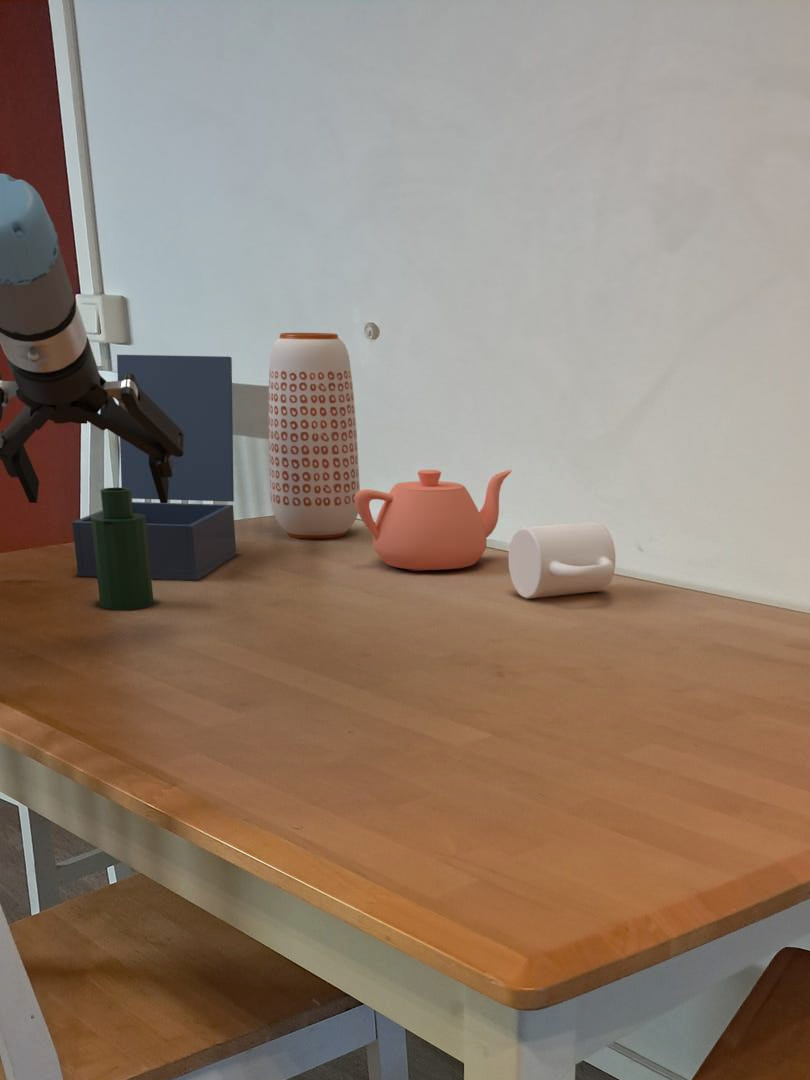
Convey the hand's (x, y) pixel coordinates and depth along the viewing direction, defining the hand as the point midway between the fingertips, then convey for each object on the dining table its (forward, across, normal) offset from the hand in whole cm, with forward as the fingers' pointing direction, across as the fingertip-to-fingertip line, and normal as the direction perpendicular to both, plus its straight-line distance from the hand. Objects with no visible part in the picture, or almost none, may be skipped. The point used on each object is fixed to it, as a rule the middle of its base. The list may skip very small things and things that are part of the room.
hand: (99, 492), depth 135 cm
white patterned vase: (+49, +19, +30) cm, 61 cm away
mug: (+18, +52, -2) cm, 55 cm away
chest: (+32, 0, +13) cm, 35 cm away
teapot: (+33, +36, +13) cm, 51 cm away
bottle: (+16, 0, -4) cm, 16 cm away
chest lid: (+28, +2, +31) cm, 42 cm away
